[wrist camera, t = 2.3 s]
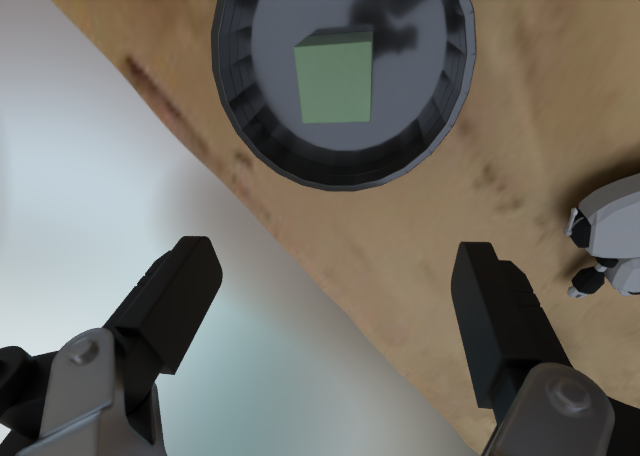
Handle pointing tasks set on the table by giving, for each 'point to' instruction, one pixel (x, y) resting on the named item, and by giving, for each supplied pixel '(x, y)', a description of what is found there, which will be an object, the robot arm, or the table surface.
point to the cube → (335, 77)
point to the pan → (387, 84)
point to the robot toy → (608, 237)
